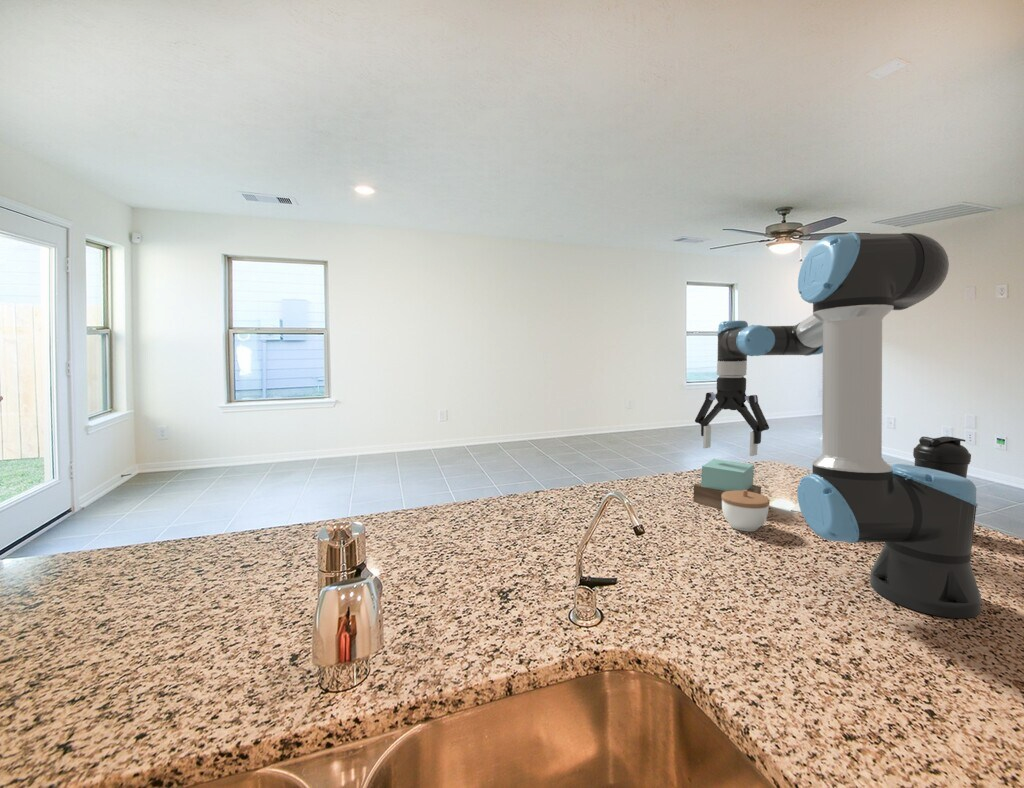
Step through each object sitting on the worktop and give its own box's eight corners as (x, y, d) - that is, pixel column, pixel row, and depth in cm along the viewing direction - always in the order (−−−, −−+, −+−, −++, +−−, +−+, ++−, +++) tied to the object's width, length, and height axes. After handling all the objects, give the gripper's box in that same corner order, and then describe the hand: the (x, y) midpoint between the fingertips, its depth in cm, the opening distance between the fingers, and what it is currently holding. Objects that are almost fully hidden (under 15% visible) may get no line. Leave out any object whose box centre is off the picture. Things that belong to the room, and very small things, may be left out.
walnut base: (737, 513, 127) (738, 495, 127) (693, 501, 138) (693, 484, 137) (760, 503, 135) (761, 486, 135) (717, 492, 146) (717, 476, 145)
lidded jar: (757, 519, 123) (758, 484, 122) (775, 536, 113) (777, 497, 112) (714, 518, 124) (715, 483, 123) (729, 534, 114) (730, 496, 113)
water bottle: (976, 539, 110) (985, 442, 107) (931, 539, 110) (939, 442, 107) (937, 523, 120) (945, 433, 117) (896, 523, 120) (903, 433, 118)
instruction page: (834, 519, 123) (834, 518, 123) (790, 510, 130) (790, 509, 130) (843, 505, 133) (843, 504, 133) (802, 498, 140) (802, 497, 140)
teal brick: (742, 494, 128) (743, 472, 128) (701, 486, 135) (701, 466, 135) (753, 484, 137) (753, 464, 136) (713, 478, 144) (714, 458, 143)
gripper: (784, 377, 125) (781, 456, 127) (698, 374, 145) (696, 443, 147) (771, 378, 121) (768, 460, 122) (683, 375, 140) (682, 446, 142)
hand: (729, 451), depth 134 cm, fingers open, 13 cm apart
